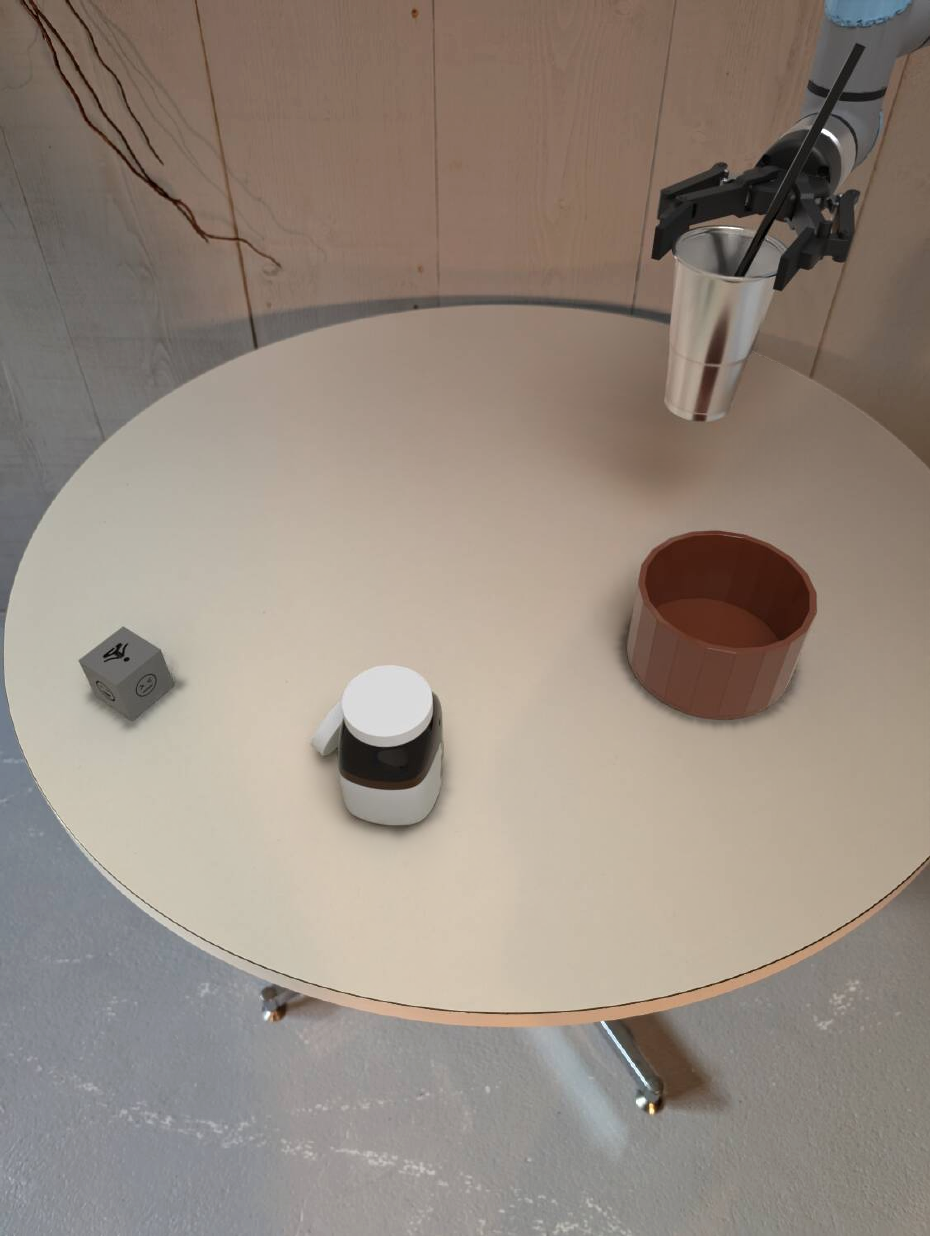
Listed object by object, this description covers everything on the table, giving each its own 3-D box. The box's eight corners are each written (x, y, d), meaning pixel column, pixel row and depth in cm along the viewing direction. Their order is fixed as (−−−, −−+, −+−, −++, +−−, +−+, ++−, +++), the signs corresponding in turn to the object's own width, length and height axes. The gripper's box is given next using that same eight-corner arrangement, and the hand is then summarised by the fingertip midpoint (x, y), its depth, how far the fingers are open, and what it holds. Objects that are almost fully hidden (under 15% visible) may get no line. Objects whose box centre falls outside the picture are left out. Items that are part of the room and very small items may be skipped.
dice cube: (138, 662, 86) (123, 626, 82) (174, 685, 84) (160, 649, 80) (95, 696, 83) (78, 660, 79) (132, 721, 81) (116, 685, 77)
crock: (824, 689, 83) (854, 622, 76) (679, 740, 79) (698, 674, 73) (731, 582, 93) (751, 514, 86) (598, 623, 89) (608, 555, 82)
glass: (769, 384, 91) (867, 41, 69) (745, 446, 84) (846, 86, 62) (664, 360, 94) (726, 24, 72) (632, 418, 87) (690, 65, 65)
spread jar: (430, 845, 72) (424, 761, 64) (293, 825, 74) (269, 741, 65) (456, 725, 80) (453, 636, 72) (332, 709, 82) (315, 620, 73)
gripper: (909, 234, 86) (841, 336, 73) (686, 186, 95) (590, 270, 82) (938, 150, 81) (870, 244, 68) (699, 107, 89) (598, 184, 76)
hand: (717, 258), depth 75 cm, fingers closed on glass, 10 cm apart
